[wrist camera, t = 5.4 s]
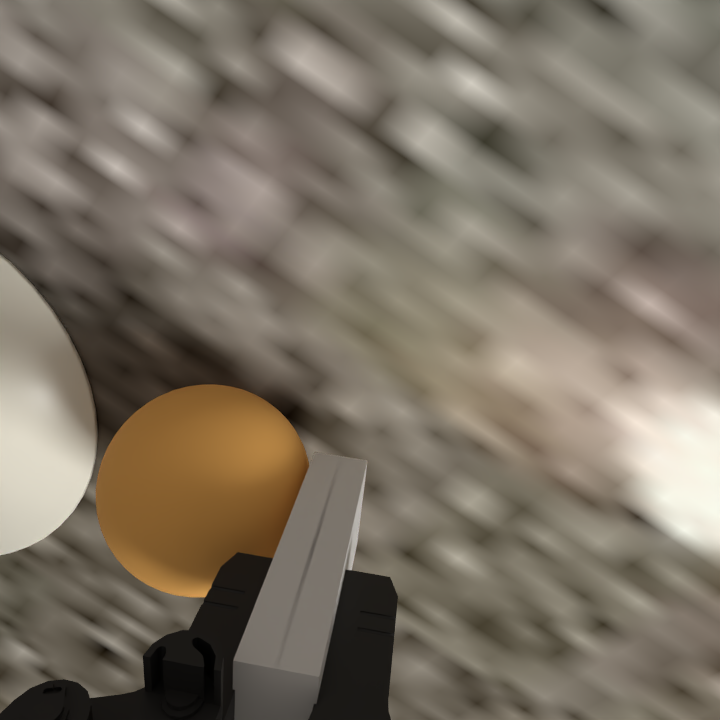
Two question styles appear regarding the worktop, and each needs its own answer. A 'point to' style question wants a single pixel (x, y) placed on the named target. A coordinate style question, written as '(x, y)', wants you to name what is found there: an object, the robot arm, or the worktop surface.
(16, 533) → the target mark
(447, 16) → the worktop surface
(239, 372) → the worktop surface
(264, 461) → the ball
